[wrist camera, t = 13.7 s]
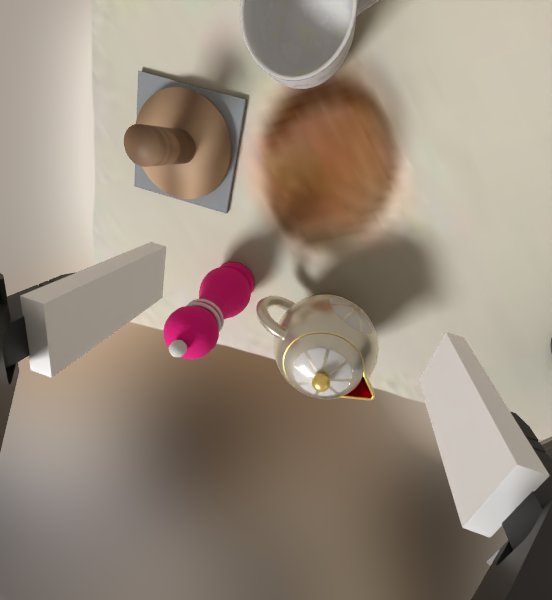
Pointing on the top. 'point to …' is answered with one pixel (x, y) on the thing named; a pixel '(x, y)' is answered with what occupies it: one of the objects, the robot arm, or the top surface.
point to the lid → (181, 143)
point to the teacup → (300, 37)
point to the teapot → (323, 345)
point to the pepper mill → (208, 311)
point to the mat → (233, 116)
